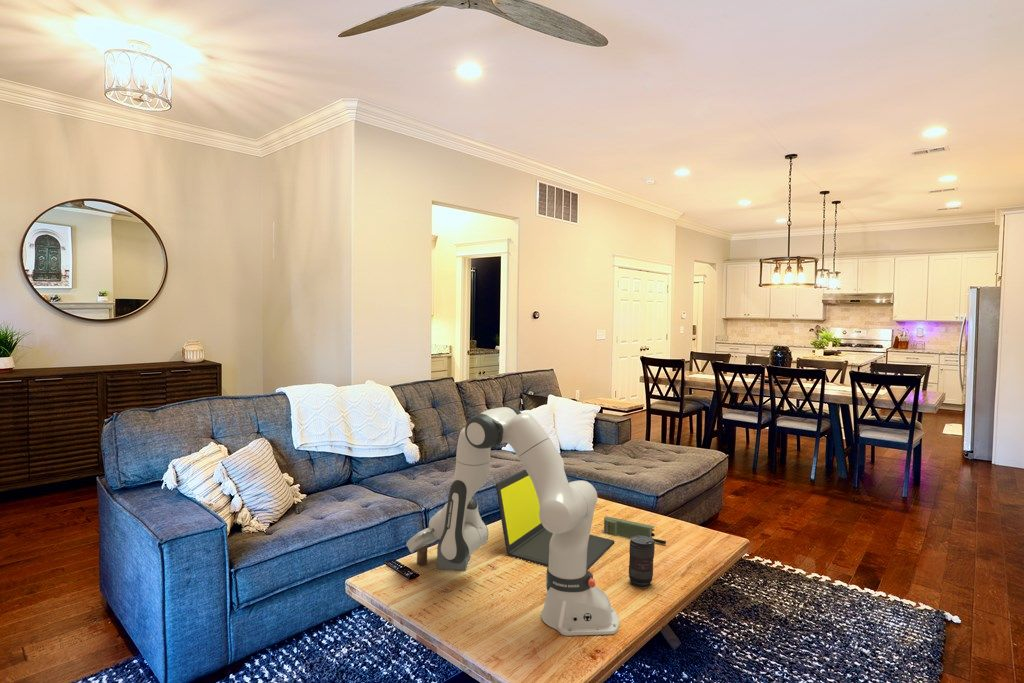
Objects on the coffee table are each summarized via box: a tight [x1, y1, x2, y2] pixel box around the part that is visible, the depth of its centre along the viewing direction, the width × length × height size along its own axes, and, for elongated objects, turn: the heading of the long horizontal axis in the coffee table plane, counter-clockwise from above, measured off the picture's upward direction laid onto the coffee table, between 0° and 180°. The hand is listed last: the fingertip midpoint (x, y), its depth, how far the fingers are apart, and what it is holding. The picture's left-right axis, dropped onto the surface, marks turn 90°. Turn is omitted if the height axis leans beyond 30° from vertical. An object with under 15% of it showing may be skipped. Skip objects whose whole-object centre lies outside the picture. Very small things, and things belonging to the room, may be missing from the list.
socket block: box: [436, 541, 471, 572], centre depth 199 cm, size 10×10×8 cm
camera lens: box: [628, 535, 656, 589], centre depth 188 cm, size 8×8×15 cm
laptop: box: [495, 469, 616, 571], centre depth 214 cm, size 33×35×26 cm
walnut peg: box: [416, 545, 428, 567], centre depth 197 cm, size 4×4×10 cm
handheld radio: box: [603, 515, 667, 545], centre depth 226 cm, size 7×3×25 cm
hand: (420, 545), depth 198 cm, fingers open, 8 cm apart
